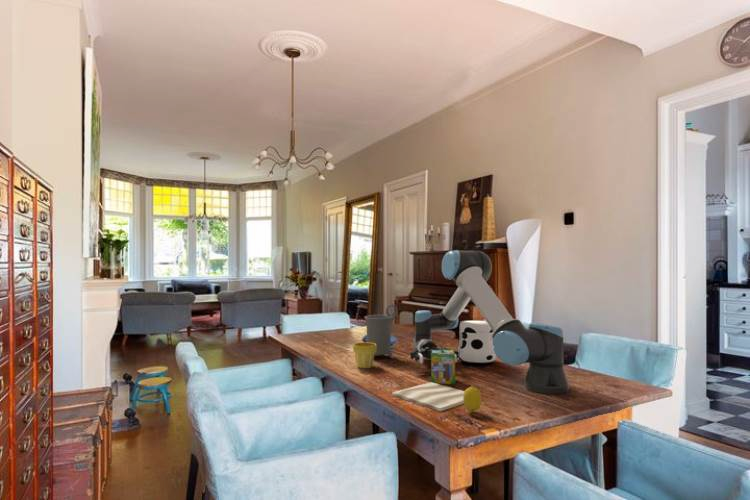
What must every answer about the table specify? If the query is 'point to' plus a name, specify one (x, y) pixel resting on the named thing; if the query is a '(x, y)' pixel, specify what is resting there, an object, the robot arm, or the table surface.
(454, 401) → the ash board
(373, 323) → the mug
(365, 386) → the table surface
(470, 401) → the lemon
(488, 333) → the milk container
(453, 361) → the chalk box
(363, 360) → the plant pot
